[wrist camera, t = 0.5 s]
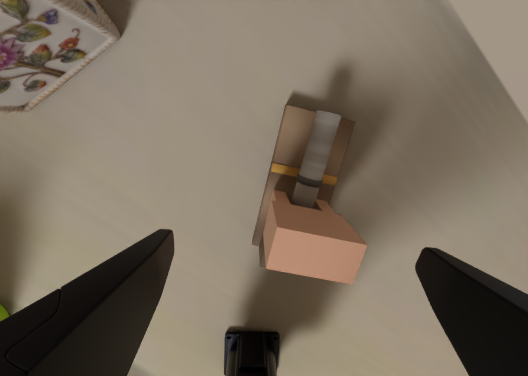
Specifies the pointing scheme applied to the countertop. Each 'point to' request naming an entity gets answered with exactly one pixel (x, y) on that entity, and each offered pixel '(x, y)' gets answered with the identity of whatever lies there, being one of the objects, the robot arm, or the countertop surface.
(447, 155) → the countertop surface
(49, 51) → the decorative jar
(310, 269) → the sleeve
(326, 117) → the pipe stand
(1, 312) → the soap dispenser
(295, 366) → the countertop surface
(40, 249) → the countertop surface
